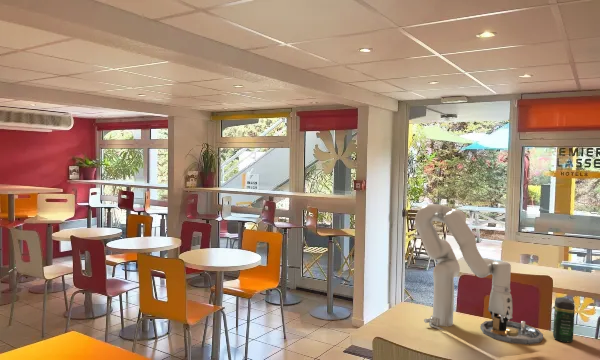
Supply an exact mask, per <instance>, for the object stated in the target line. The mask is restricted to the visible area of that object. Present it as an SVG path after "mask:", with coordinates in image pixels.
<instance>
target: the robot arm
mask: <svg viewBox="0 0 600 360" xmlns="http://www.w3.org/2000/svg"><path fill="white" fill-rule="evenodd" d="M433 222H440V223H443V224H445V226H446V228H447V229H448V231H449V232H450V233H451V235H452V237H453V239H455V241H456V243H457V245H458V247H459V250H460V252H461V255H462V257H463V258H464V262H465V263H466V265H467V266H468V268H469V270H471V272H472V273H473V274H474V275H475V276H476V277H478V278H486V277H488V276H490V275H492V280H491V282H492V283H491V290H490V294H489V301H488V308H487V311H488V312H489V314H490V315H491V319H492V320H491V321H492V327H493V317H496V316H501V322H500V331H505V330H506V322H508V321H510V320H512V319H513V298H512V297H513V296H512V294H511V292H512V290H511V274H512V273H511V271H512V266H511V265H512V264H511V263H509V262H508V261H502V260H501V261H499V260H494V259H490V258H483V256H482V255H481V254H480V252H479V250H478V248H477V246H478V245H477V240H476V235H475V234H474V233H473V231H472V230H471V228H470V227H469V225H468V223H467V217H466V214H465V213H464V212H463V211H462V210H460V209H457V208H453V207H449V206H446V205H442V204H438V203H431V204H425V205H423V206H422V207H420V208H419V209H418V210H417V212H416V214H415V217H414V224H415V229H416V231H417V232H418V235H419V237H420V240H421V242H422V244H423V247H424V249H425V251H426V254H427V256H428V257H429V259H431V260H434V261H437V264H435V266H434V268H433V272H432V278H433V303H432V304H433V305H432V315H430V317H429V318H424V319H423V321H424V323H425V324H427V323H428V325H429V326H430V327H432V328H435V329H438V330H443V331H444V330H445V329H444V328H442V327H452V326H453V325H454V310H455V309H454V307H455V306H454V305H455V302H454V301H455V282H454V279H455V278H456V277H457V276H458V275H459V274H460V271H461V267H460V263H459V261H458V259H457V257H456V254H455V252H454V250H453V248H452V246H451V244H450V243H449V242H448V241H447V240H446V239H443V238H440V235H439V233H438V230H437V229H436V227H435V226H434V223H433Z"/></svg>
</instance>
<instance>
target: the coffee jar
mask: <svg viewBox="0 0 600 360" xmlns="http://www.w3.org/2000/svg"><path fill="white" fill-rule="evenodd" d="M575 305H576V304H575V303H574V302H573V301H572V300H570V299H569V298H565V297H558V298H556V299H555V300H554V309H553V310H554V311H553V328H552V329H553V330H552V336H553V338H554V339H555V340H556V341H560V342H563V343H572V342H573V341H574V329H575V328H574V326H575V310H576V309H575V308H576V307H575Z"/></svg>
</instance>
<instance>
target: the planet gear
mask: <svg viewBox="0 0 600 360" xmlns="http://www.w3.org/2000/svg"><path fill="white" fill-rule="evenodd" d="M492 319H493V329H492V330H491V332H494V333H496V334H499V335H503V336H507V332H506V331H500V322H501V315H498V316H496V317H493V318H492Z"/></svg>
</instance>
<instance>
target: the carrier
mask: <svg viewBox="0 0 600 360" xmlns="http://www.w3.org/2000/svg"><path fill="white" fill-rule="evenodd" d="M492 329H493V327H492V320H485V321H483V322H482V323H481V324H480V330H481V332H482V334H484V335H485V336H488V337H490V338H491V339H494V340H498V341H501V342H505V343H509V344H517V345H518V344H519V345H534V344H540V343H541V342H542V341H543V340H544V334H543V333H542V332H541V331H540V330H539V328H535V327H533V326H530V325H528V324H526V321H525V320H521V321H520V322H516V321H512V320H511V321H510V320H508V322H506V330H505V331H506V332H507V336H503V335H499V334H496V333H494V332H491V330H492Z"/></svg>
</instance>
